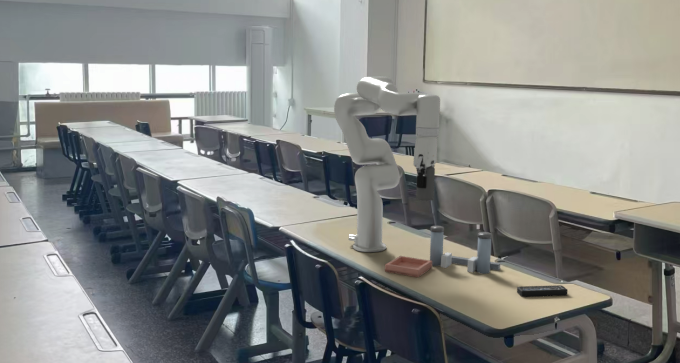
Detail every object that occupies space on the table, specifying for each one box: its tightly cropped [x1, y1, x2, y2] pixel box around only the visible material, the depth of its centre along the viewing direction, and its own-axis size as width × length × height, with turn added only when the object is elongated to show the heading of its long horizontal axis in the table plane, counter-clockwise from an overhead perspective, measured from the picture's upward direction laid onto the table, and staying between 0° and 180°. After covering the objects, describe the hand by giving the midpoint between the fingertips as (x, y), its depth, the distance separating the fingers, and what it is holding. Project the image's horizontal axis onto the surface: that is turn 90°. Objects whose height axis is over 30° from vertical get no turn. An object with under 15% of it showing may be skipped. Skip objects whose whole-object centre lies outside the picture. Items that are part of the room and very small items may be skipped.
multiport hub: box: [516, 284, 569, 298], centre depth 208 cm, size 4×14×2 cm, turn 96°
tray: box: [384, 255, 433, 278], centre depth 232 cm, size 12×12×2 cm
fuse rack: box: [429, 225, 501, 274], centre depth 235 cm, size 25×8×13 cm, turn 60°
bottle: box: [415, 160, 436, 202], centre depth 227 cm, size 6×6×15 cm
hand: (425, 185), depth 228 cm, fingers closed on bottle, 5 cm apart
